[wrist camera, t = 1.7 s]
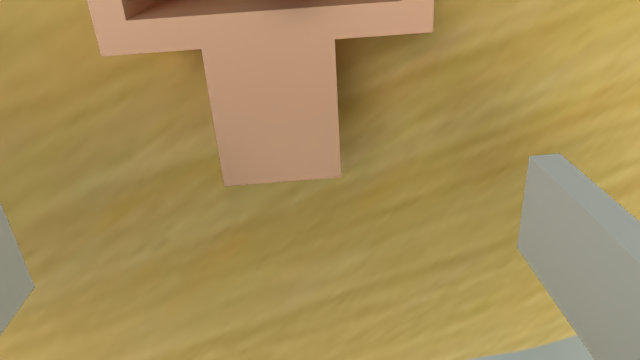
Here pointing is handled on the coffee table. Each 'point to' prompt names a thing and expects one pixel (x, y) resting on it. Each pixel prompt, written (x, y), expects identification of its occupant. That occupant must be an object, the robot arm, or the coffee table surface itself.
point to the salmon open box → (262, 70)
